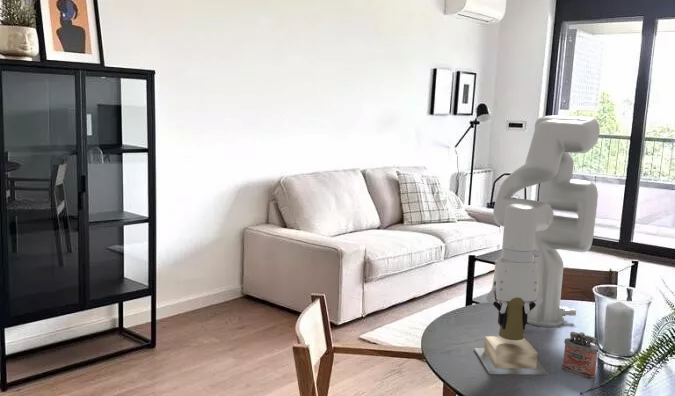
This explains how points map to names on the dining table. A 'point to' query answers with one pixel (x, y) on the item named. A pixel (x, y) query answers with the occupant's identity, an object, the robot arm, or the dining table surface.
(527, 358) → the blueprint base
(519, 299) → the olive brown knobbed peg
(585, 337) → the lighter
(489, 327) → the dining table surface
